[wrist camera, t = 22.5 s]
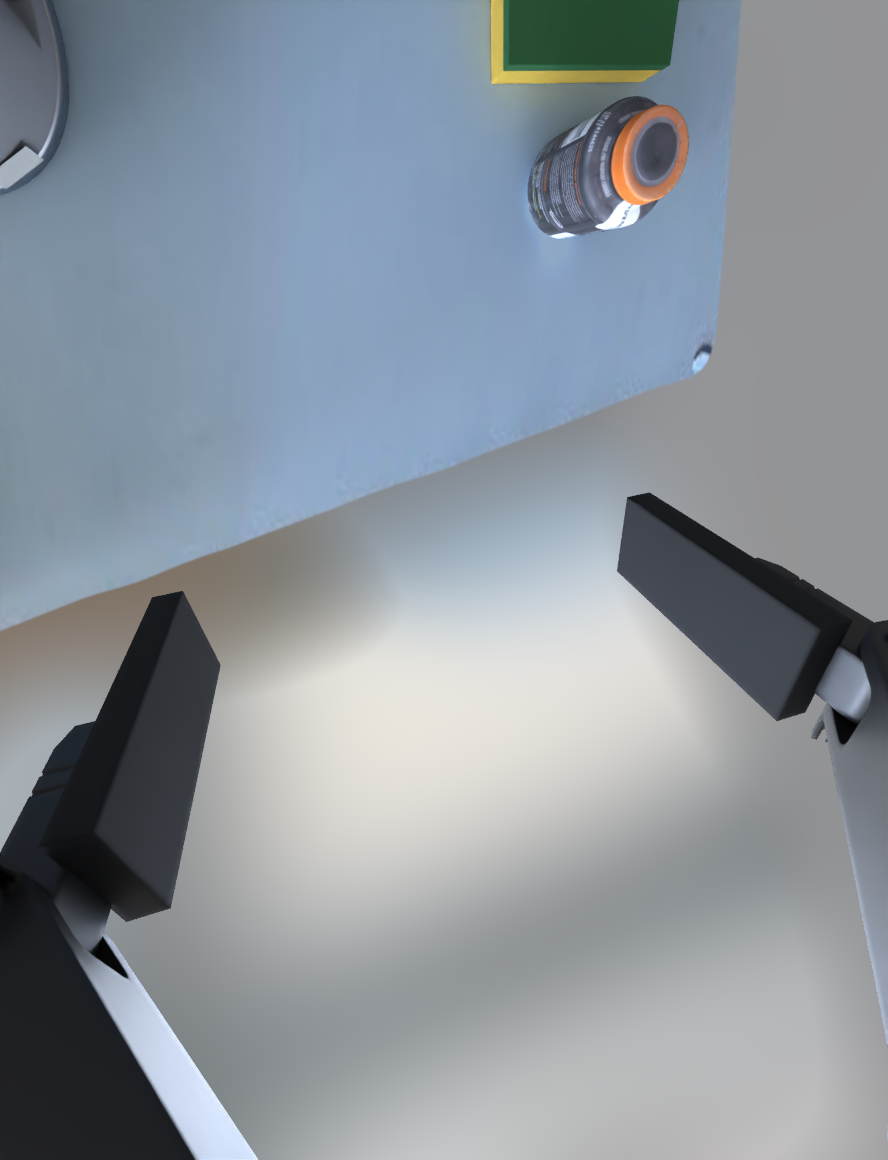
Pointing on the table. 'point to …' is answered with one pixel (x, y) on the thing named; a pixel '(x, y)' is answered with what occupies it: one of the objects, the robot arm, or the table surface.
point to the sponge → (580, 40)
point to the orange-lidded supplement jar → (608, 168)
